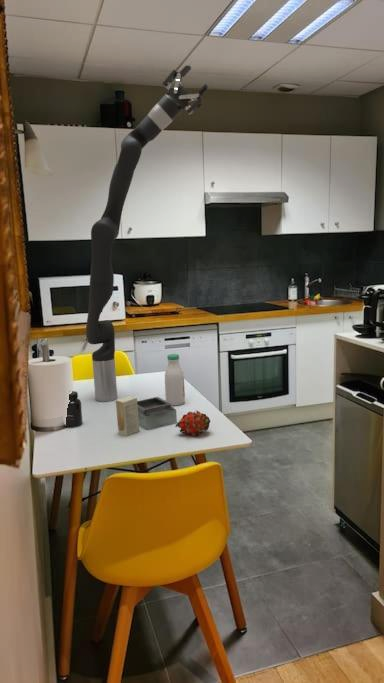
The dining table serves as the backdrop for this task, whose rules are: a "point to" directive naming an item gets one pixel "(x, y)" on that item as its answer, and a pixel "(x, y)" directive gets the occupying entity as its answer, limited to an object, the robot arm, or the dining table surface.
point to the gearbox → (155, 413)
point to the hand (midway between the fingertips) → (198, 75)
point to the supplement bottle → (74, 411)
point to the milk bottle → (174, 381)
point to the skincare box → (127, 415)
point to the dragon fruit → (193, 423)
